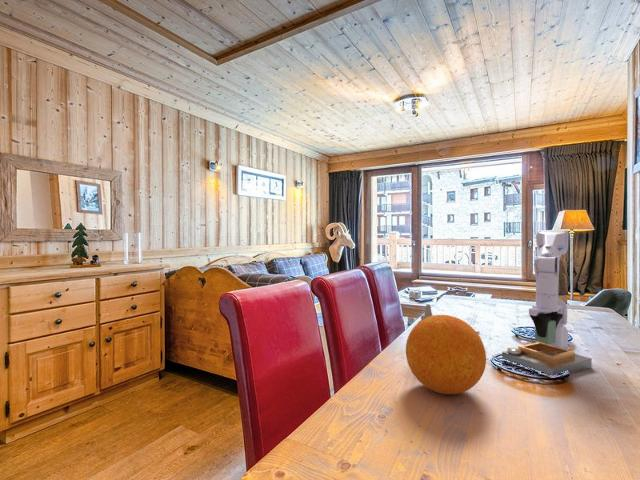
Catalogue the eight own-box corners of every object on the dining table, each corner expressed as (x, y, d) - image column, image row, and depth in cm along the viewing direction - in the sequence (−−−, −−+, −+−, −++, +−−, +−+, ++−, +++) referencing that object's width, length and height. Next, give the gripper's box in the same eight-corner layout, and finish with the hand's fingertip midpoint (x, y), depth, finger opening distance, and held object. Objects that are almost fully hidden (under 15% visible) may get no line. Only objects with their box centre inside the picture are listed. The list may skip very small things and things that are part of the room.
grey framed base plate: (539, 352, 121) (539, 338, 121) (591, 368, 106) (591, 352, 106) (502, 360, 112) (502, 345, 112) (552, 379, 98) (553, 362, 98)
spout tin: (542, 339, 112) (542, 315, 112) (555, 342, 108) (555, 317, 108) (535, 340, 110) (535, 316, 110) (547, 344, 107) (548, 319, 107)
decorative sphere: (502, 396, 87) (502, 318, 87) (452, 418, 77) (453, 329, 76) (437, 370, 104) (438, 305, 104) (390, 385, 93) (390, 312, 93)
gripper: (547, 290, 116) (546, 330, 116) (519, 293, 110) (519, 335, 110) (569, 293, 109) (569, 335, 109) (542, 296, 103) (541, 341, 103)
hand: (545, 335), depth 109 cm, fingers closed on spout tin, 4 cm apart
